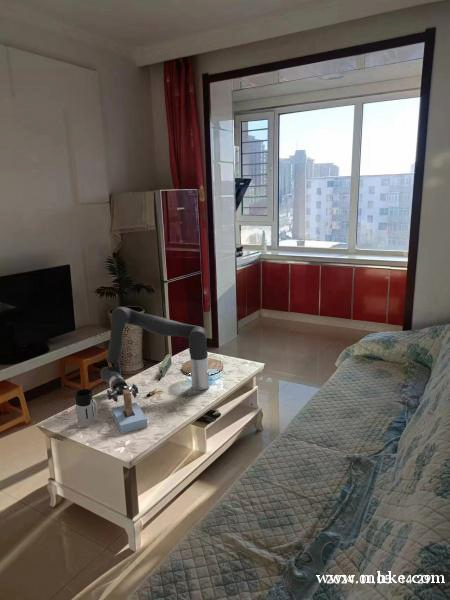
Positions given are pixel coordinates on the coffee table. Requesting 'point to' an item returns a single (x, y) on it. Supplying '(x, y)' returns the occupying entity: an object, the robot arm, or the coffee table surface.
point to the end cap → (129, 418)
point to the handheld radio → (165, 366)
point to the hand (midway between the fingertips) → (126, 397)
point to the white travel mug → (85, 408)
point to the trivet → (211, 365)
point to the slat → (127, 403)
